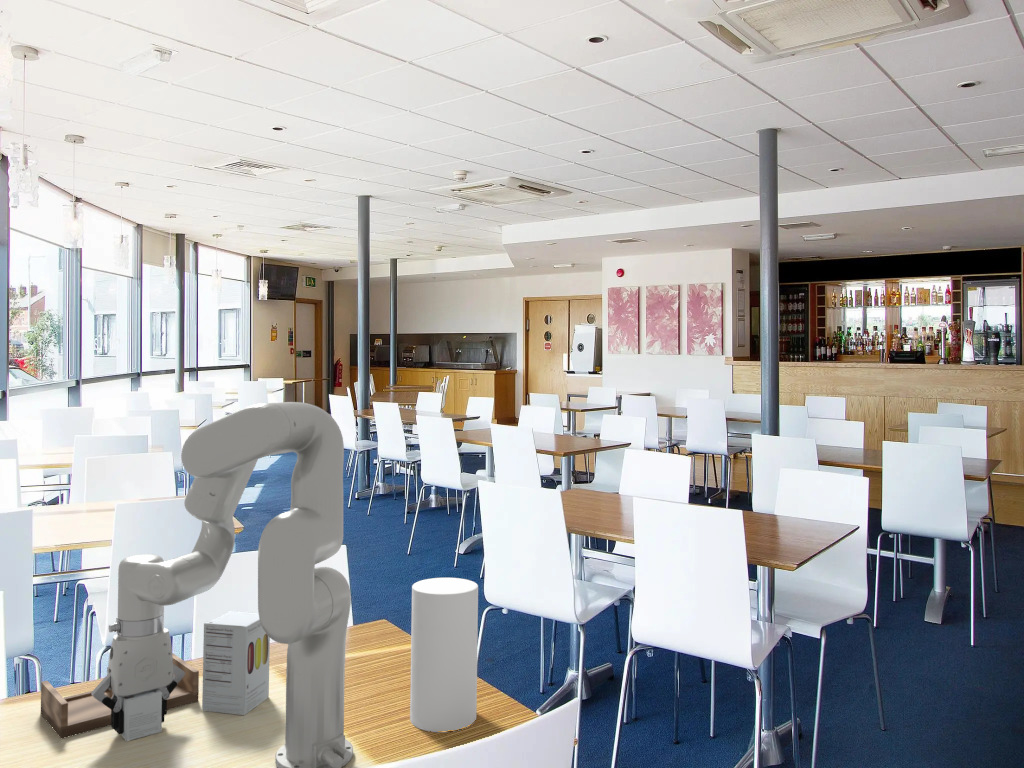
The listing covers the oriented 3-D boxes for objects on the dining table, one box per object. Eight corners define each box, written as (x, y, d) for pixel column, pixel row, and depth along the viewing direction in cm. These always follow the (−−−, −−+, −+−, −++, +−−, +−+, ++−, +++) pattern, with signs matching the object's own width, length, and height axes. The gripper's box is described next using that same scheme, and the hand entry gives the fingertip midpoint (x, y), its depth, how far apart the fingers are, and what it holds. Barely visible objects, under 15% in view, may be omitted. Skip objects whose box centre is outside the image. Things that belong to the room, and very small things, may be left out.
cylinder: (489, 714, 148) (491, 583, 148) (449, 738, 138) (451, 598, 138) (438, 699, 155) (439, 574, 155) (396, 721, 144) (398, 587, 145)
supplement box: (244, 716, 146) (245, 626, 146) (200, 711, 148) (201, 623, 148) (270, 696, 155) (271, 612, 155) (228, 692, 157) (229, 609, 157)
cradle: (198, 701, 152) (198, 670, 152) (61, 738, 135) (61, 704, 136) (171, 681, 162) (171, 652, 162) (40, 713, 146) (41, 681, 146)
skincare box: (152, 721, 143) (152, 681, 143) (162, 732, 138) (162, 691, 138) (116, 730, 139) (117, 689, 139) (125, 742, 135) (125, 699, 135)
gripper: (94, 641, 130) (92, 748, 130) (197, 620, 142) (196, 718, 142) (81, 630, 136) (79, 733, 136) (181, 611, 148) (180, 706, 148)
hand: (139, 724), depth 139 cm, fingers closed on skincare box, 6 cm apart
